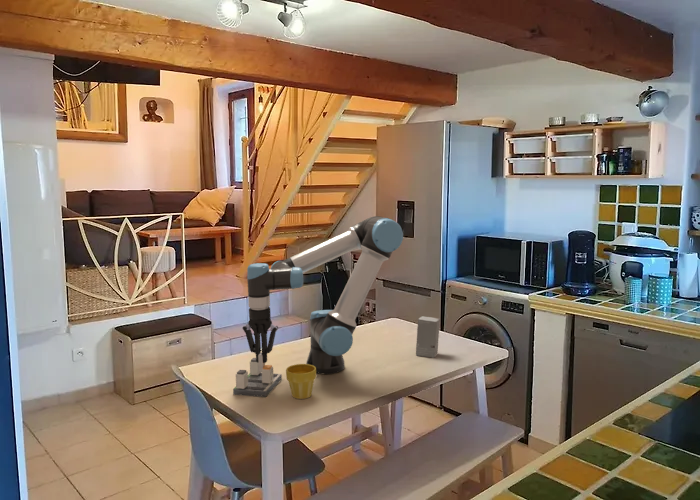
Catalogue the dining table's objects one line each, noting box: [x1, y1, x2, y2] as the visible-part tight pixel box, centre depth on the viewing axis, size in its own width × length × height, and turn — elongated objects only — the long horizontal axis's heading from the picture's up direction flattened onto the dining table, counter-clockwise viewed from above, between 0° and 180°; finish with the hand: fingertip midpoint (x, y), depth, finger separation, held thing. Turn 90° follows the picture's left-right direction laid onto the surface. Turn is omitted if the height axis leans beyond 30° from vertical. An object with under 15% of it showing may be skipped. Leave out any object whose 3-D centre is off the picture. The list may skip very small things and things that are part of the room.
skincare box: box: [415, 315, 441, 359], centre depth 236 cm, size 8×7×16 cm
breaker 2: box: [249, 357, 262, 375], centre depth 208 cm, size 3×4×6 cm
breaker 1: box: [235, 369, 249, 389], centre depth 195 cm, size 3×4×6 cm
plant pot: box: [285, 363, 317, 400], centre depth 193 cm, size 10×10×10 cm
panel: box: [232, 372, 283, 398], centre depth 201 cm, size 12×17×2 cm
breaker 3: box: [261, 364, 274, 383], centre depth 200 cm, size 3×4×6 cm
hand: (262, 370), depth 201 cm, fingers closed
